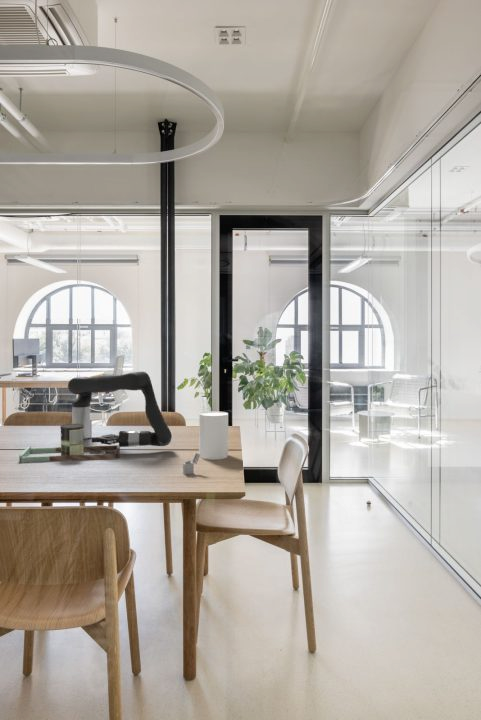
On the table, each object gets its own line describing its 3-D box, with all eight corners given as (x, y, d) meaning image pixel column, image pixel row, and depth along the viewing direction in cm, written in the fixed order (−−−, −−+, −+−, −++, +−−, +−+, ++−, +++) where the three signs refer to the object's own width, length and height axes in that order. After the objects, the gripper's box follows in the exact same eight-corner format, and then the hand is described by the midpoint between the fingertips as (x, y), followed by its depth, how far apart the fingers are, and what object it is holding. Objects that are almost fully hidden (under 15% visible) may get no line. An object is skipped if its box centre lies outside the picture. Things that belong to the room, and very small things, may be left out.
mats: (115, 450, 246) (115, 449, 246) (114, 457, 232) (114, 456, 232) (90, 451, 243) (90, 450, 243) (87, 458, 229) (87, 457, 229)
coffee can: (58, 458, 229) (57, 427, 228) (64, 452, 239) (63, 423, 239) (81, 458, 230) (80, 427, 229) (86, 452, 240) (85, 423, 240)
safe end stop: (56, 451, 242) (56, 445, 242) (49, 461, 224) (49, 454, 224) (28, 452, 240) (28, 446, 239) (19, 462, 222) (19, 455, 221)
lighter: (184, 474, 204) (184, 455, 204) (182, 473, 206) (182, 454, 205) (200, 472, 207) (200, 453, 207) (198, 471, 209) (198, 452, 208)
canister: (233, 455, 236) (234, 413, 235) (213, 461, 226) (213, 417, 225) (213, 451, 245) (214, 410, 244) (193, 455, 235) (193, 413, 234)
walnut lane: (119, 449, 248) (119, 445, 248) (118, 458, 230) (118, 453, 230) (28, 452, 240) (28, 448, 239) (19, 462, 222) (19, 457, 221)
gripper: (129, 428, 246) (92, 429, 242) (129, 433, 233) (90, 434, 230) (129, 443, 246) (92, 444, 243) (129, 449, 233) (90, 451, 230)
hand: (91, 439), depth 236 cm, fingers closed
